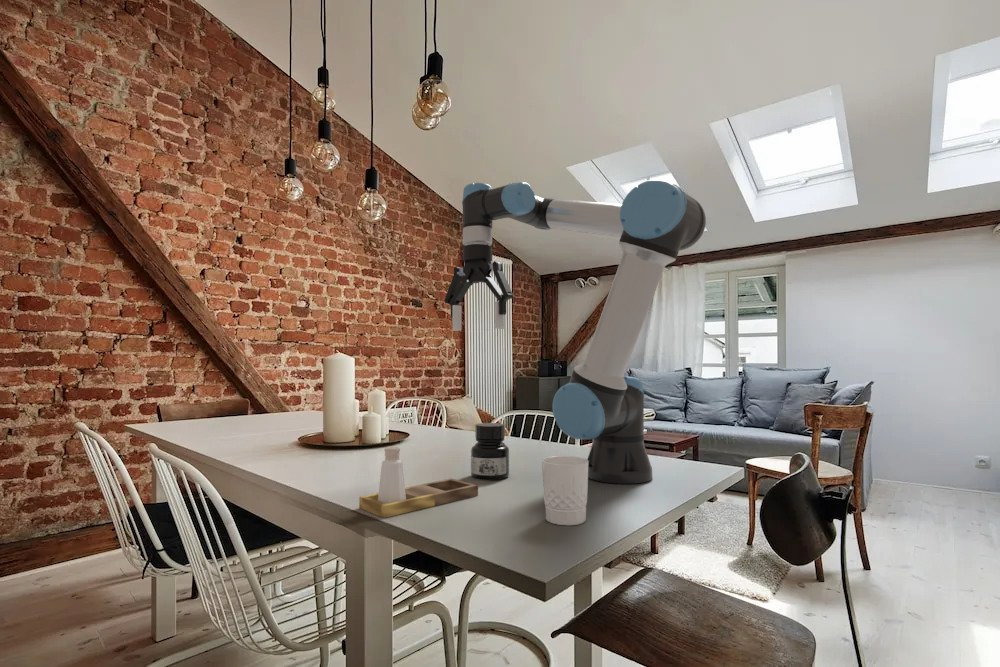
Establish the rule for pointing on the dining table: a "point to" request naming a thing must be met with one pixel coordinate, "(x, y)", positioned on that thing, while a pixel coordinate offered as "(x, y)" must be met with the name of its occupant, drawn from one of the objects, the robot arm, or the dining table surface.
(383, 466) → the pepper shaker
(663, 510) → the dining table surface
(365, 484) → the dining table surface
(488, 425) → the ink bottle
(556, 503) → the white cup
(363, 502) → the rail
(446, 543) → the dining table surface
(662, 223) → the robot arm
